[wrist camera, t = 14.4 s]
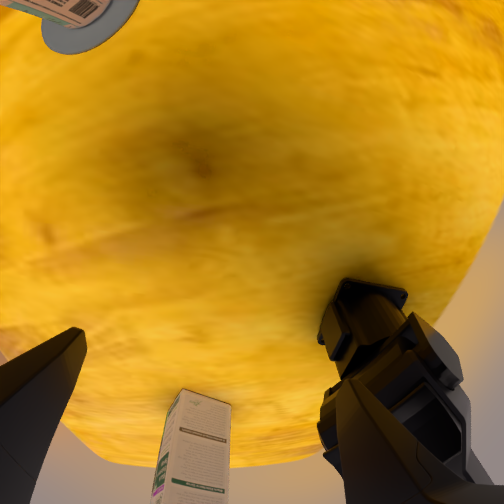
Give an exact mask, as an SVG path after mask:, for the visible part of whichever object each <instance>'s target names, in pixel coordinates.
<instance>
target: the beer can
mask: <svg viewBox="0 0 504 504" xmlns="http://www.w3.org/2000/svg"><path fill="white" fill-rule="evenodd" d="M110 1H111V0H0V5H3V6H7V7H10V8H13V9H16V10H20V11H23V12H26V13H29V14H32V15H35V16H37V17H40V18H43V19H46V20H48V21H51V22H54V23H56V24H59V25H61V26H64V27H66V28H69V29H77V28H81V27H84V26H86V25H88V24H90V23H91V22H92V21H94V20H95V19H96V18H98V17H99V16H100V15H101V14H102V13H103V12H104V10H105V9H106V8H107V6H108V5H109V3H110Z"/></svg>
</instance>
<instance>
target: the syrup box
mask: <svg viewBox="0 0 504 504" xmlns="http://www.w3.org/2000/svg"><path fill="white" fill-rule="evenodd" d="M230 429H231V406H230V405H229V404H226V403H223V402H221V401H218V400H215V399H212V398H209V397H206V396H203V395H200V394H197V393H194V392H191V391H188V390H185V389H182V391H181V392H180V394H179V395H178V397H177V398H176V399H175V401H174V403H173V404H172V406H171V408H170V409H169V411H168V413H167V417H166V421H165V426H164V431H163V436H162V441H161V446H160V451H159V456H158V461H157V467H156V472H155V478H154V483H153V489H152V495H151V501H150V504H228V491H229V462H230Z"/></svg>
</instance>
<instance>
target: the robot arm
mask: <svg viewBox="0 0 504 504" xmlns="http://www.w3.org/2000/svg"><path fill="white" fill-rule="evenodd" d="M345 284H349V285H348V286H347V287H344V286H345ZM402 294H404V295H403V296H401V295H402ZM407 297H408V293H407V291H406V290H405V289H401V288H396V287H390V286H385V285H380V284H375V283H370V282H364V281H359V280H354V279H349V278H345V279H343V280H342V281H341V282H340V285H339V287H338V290H337V292H336V295H335V297H334V300H333V301H332V302H331V303H330V304H329V306H328V308H327V311H326V313H325V316H324V318H323V320H322V323H321V325H320V329H321V330H320V332H319V335H318V337H317V340H318V343H319V344H320V345H325V346H326V349H327V353H328V356H329V359H330V360H331V361H335V363H336V367H337V370H338V373H339V377H340V379H341V381H340V382H338V383H337V384H336V385H335V386H333V387H332V388H331V387H330V388H329V389H328V390H326V391H325V394H324V401H323V403H322V406H321V408H320V421H319V422H318V423H317V430H318V433H319V437H320V440H321V443H322V445H323V447H324V448H325V450H326V452H324V453H323V457H324V458H325V459H326V460H327V461H328V462H330V463H331V464H332V465H333V466H334V467H335V469H336V470H337V471H338V473H339V474H340V475H341V477H342V478H343V481H344V489H345V497H346V504H504V485H494V483H493V482H492V480H491V479H490V477H489V476H488V474H487V472H486V471H485V469H484V468H483V466H482V465H481V463H480V462H479V460H478V459H477V457H476V456H475V454H474V453H473V451H472V449H471V406H470V400H469V398H468V397H467V395H466V394H465V392H464V391H463V390H462V388H461V387H460V385H459V384H460V383H461V382H462V381H463V374H462V369H461V366H460V361H459V357H458V355H457V354H456V352H455V351H454V350H453V349H452V347H451V346H450V345H449V343H448V342H447V341H446V340H445V338H444V337H443V336H442V335H441V334H440V333H438V332H437V331H436V330H435V329H434V328H432V327H431V326H430V325H429V324H428V323H427V322H425V321H424V320H423V319H422V318H421V317H419V316H418V315H417V314H416V313H414V312H412V313H411V314H410V315H409V316H408V317H406V316H405V314H404V313H403V311H402V310H401V309H402V307H403V305H404V304H405V301H406V299H407ZM407 318H408V319H407ZM322 339H324V340H322ZM86 353H87V343H86V337H85V332H84V330H82V329H79V328H76V327H71V328H69V329H68V330H66V331H64V332H62V333H60V334H58V335H56V336H55V337H53V338H51V339H49V340H47V341H45V342H43V343H42V344H40V345H38V346H36V347H34V348H32V349H31V350H29V351H27V352H25V353H23V354H21V355H20V356H18V357H16V358H14V359H12V360H11V361H9V362H7V363H5V364H3V365H1V366H0V504H30V500H31V497H32V494H33V491H34V488H35V485H36V481H37V478H38V475H39V473H40V470H41V467H42V464H43V461H44V459H45V456H46V454H47V451H48V448H49V446H50V443H51V441H52V438H53V436H54V433H55V431H56V429H57V426H58V424H59V422H60V419H61V417H62V415H63V412H64V410H65V408H66V406H67V403H68V401H69V399H70V397H71V395H72V392H73V390H74V388H75V385H76V382H77V379H78V376H79V373H80V370H81V367H82V364H83V362H84V359H85V356H86Z"/></svg>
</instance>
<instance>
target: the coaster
mask: <svg viewBox="0 0 504 504" xmlns="http://www.w3.org/2000/svg"><path fill="white" fill-rule="evenodd" d="M138 2H139V0H111V1H110V3H109V5H108V6H107V8H106V9H105V10H104V12H103V13H102V14H101V15H100V16H99V17H98V18H96V19H95V20H94V21H92V22H91V23H90V24H88V25H86V26H84V27H81V28H77V29H69V28H66V27H64V26H61V25H59V24H56V23H54V22H51V21H48V20H46V19H43V18H42V25H41V30H42V36H43V39H44V42H45V43H46V45H47V46H48V47H49V48H50V49H51V50H53V51H55V52H58V53H61V54H67V55H72V54H79V53H83V52H86V51H88V50H91V49H93V48H95V47H97V46H99V45H100V44H102V43H103V42H105V41H106V40H108V39H109V38H110V37H112V36H113V35H114V34H115V33H116V32H117V31H118V30H119V29H120V28H121V27H122V26H123V25H124V24H125V23H126V22H127V20H128V19H129V18H130V16H131V15H132V13H133V12H134V10H135V8H136V7H137V5H138Z"/></svg>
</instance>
